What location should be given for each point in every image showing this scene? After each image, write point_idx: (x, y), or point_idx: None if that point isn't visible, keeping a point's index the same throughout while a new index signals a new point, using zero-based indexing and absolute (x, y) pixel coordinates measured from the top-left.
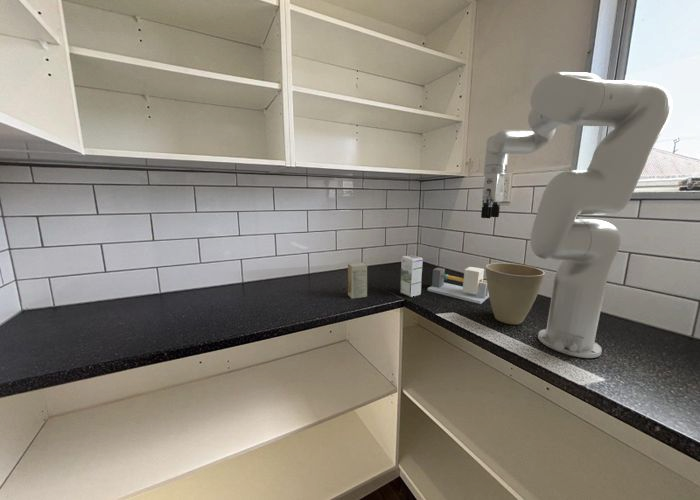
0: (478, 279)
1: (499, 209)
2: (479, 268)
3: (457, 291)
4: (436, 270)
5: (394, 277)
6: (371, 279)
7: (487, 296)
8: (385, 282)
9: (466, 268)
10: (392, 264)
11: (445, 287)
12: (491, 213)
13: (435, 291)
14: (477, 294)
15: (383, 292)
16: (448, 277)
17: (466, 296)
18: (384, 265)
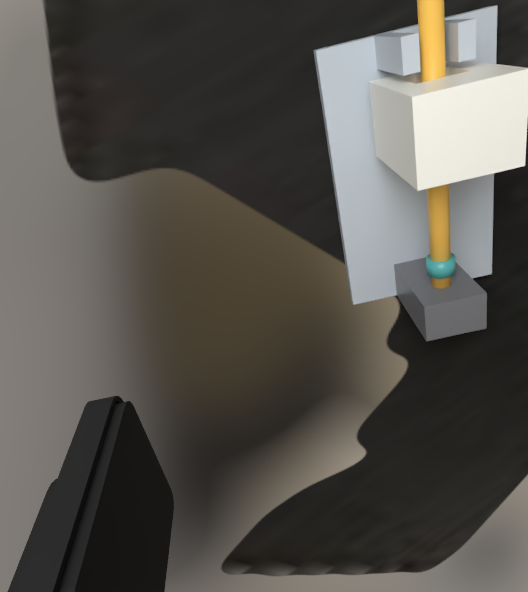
0: (493, 66)
1: (35, 546)
2: (423, 124)
3: None
4: (485, 310)
5: (424, 440)
6: (515, 457)
7: (379, 34)
8: (510, 413)
9: (490, 173)
10: (268, 556)
11: (419, 239)
12: (157, 538)
13: (490, 235)
14: None
15: None
16: (449, 247)
17: None
18: (310, 557)
